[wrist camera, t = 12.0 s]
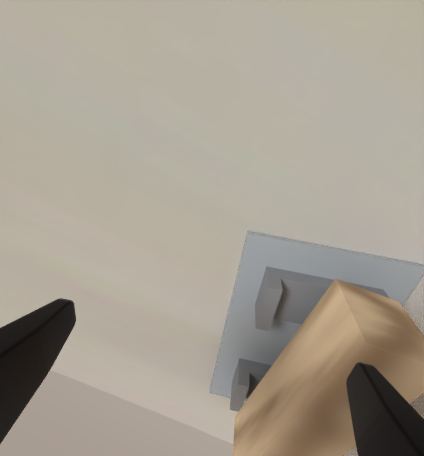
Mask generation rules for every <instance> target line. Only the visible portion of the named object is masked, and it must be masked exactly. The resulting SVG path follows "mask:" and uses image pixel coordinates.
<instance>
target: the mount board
mask: <svg viewBox="0 0 424 456" xmlns="http://www.w3.org/2000/svg"><path fill="white" fill-rule="evenodd" d="M423 274H424V265H422V264H417V263H411V262H406V261H401V260H396V259H390V258H385V257H380V256H375V255H370V254H364V253H359V252H354V251H349V250H343V249H338V248H333V247H328V246H323V245H317V244H312V243H307V242H302V241H296V240H291V239H286V238H281V237H276V236H270V235H265V234H260V233H255V232H249V231H248V232H247V236H246V240H245V244H244V249H243V253H242V257H241V261H240V266H239V270H238V274H237V278H236V282H235V287H234V291H233V295H232V299H231V303H230V308H229V312H228V316H227V320H226V325H225V329H224V333H223V337H222V341H221V346H220V350H219V354H218V358H217V362H216V367H215V371H214V375H213V379H212V384H211V388H210V393H211V394H216V395H220V396H224V397H229V398H231V403H230V410H234V411H239V410H240V409H241V407H242V406H243V403H244V401H247V399H248V398H249V396H250V395H251V394H252V392H253V391H254V390H255V388H256V387H257V385H258V384H259V383H260V381H261V380H262V379H263V377H264V376H265V374H266V373H267V372H268V370H269V369H270V368H271V366H272V365H273V363H274V362H275V361H276V359H277V358H278V357H279V355H280V354H281V353H282V351H283V350H284V348H285V347H286V346H287V344H288V343H289V342H290V340H291V339H292V337H293V336H294V335H295V333H296V332H297V331H298V329H299V328H300V326H301V325H302V324H303V322H304V321H305V320H306V318H307V317H308V316H309V314H310V313H311V311H312V310H313V309H314V307H315V306H316V305H317V303H318V302H319V300H320V299H321V298H322V296H323V295H324V294H325V292H326V291H327V289H328V288H329V287H330V285H331V284H332V283H333V281H334V280H335V278H336V279H339V280H341V281H344V282H347V283H349V284H352V285H355V286H357V287H360V288H363V289H366V290H368V291H371V292H374V293H376V294H379V295H382V296H385V297H387V298H390V299H393V300H395V301H398V302H399V303H400V304H401V306H402V307H403V305H404V304H405V302H406V301H407V299H408V297H409V296H410V294H411V293H412V291H413V290H414V288H415V287H416V285H417V284H418V282H419V280H420V279H421V277H422V276H423Z"/></svg>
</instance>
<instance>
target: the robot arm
mask: <svg viewBox="0 0 424 456" xmlns="http://www.w3.org/2000/svg"><path fill="white" fill-rule="evenodd" d="M75 322H76V315H75V308H74V303H73V301H71V300H67V299H62V298H61V299H57V300H55V301H53V302H51V303H49V304H47V305H45V306H43V307H41V308H39V309H37V310H35V311H33V312H31V313H29V314H27V315H25V316H23V317H21V318H19V319H17V320H15V321H13V322H11V323H9V324H7V325H5V326H3V327H1V328H0V444H1V442H2V441H3V439H4V438H5V436H6V435H7V433H8V432H9V430H10V429H11V427H12V426H13V424H14V423H15V421H16V420H17V419H18V417H19V416H20V414H21V413H22V411H23V410H24V408H25V407H26V405H27V404H28V402H29V401H30V399H31V398H32V396H33V395H34V393H35V392H36V390H37V389H38V388H39V386H40V385H41V383H42V382H43V380H44V379H45V377H46V376H47V374H48V372H49V371H50V369H51V367H52V366H53V364H54V362H55V360H56V358H57V356H58V355H59V353H60V351H61V349H62V347H63V345H64V344H65V342H66V340H67V338H68V336H69V335H70V333H71V331H72V329H73V327H74V325H75ZM346 387H347V394H348V400H349V406H350V413H351V419H352V425H353V432H354V437H355V443H356V447H357V452H358V456H424V419H423V418H422V417H421V416H420V415H419V414H418V412H417V411H416V410H415V409H414V408H413V407H412V406H411V405H410V404H409V403H408V402H407V401H406V400H405V399H404V397H403V396H402V395H401V394H400V393H399V392H398V391H397V390H396V389H395V388H394V387H393V386H392V385H391V384H390V383H389V381H388V380H387V379H386V378H385V377H384V376H383V375H382V374H381V373H380V372H379V371H378V370H377V369H376V368H375V367H374V366H373V365H371V364H367V363H363V362H358V363H356V364H355V366H354V368H353V369H352V371H351V372H350V374H349V376H348V377H347V381H346Z"/></svg>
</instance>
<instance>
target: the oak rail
mask: <svg viewBox="0 0 424 456" xmlns="http://www.w3.org/2000/svg"><path fill="white" fill-rule="evenodd" d="M358 362H363V363H367V364H371V365H373V366H374V367H375V368H376V369H377V370H378V371H379V372H380V373H381V374H382V375H383V376H384V377H385V378H386V379H387V380H388V381H389V383H390V384H391V385H392V386H393V387H394V388H395V389H396V390H397V391H398V392H399V393H400V394H401V395H402V396H403V397H404V399H405V400H406V401H407V402H408V403H409V404H410V403H412V402H413V401H414V400H416V399H417V398H418V397H419V396H421V395H422V394H423V393H424V336H423V334H422V333H421V332H420V330H419V329H418V328H417V326H416V325H415V324H414V322H413V321H412V319H411V318H410V317H409V315H408V314H407V313H406V311H405V310H404V308H403V307H402V306H401V304H400V303H399V302H398V301H395V300H393V299H390V298H387V297H385V296H382V295H379V294H376V293H374V292H371V291H368V290H366V289H363V288H360V287H357V286H355V285H352V284H349V283H347V282H344V281H341V280H339V279H336V278H335V280H334V281H333V283H332V284H331V285H330V287H329V288H328V289H327V291H326V292H325V294H324V295H323V296H322V298H321V299H320V300H319V302H318V303H317V305H316V306H315V307H314V309H313V310H312V311H311V313H310V314H309V316H308V317H307V318H306V320H305V321H304V322H303V324H302V325H301V326H300V328H299V329H298V331H297V332H296V333H295V335H294V336H293V337H292V339H291V340H290V342H289V343H288V344H287V346H286V347H285V348H284V350H283V351H282V353H281V354H280V355H279V357H278V358H277V359H276V361H275V362H274V363H273V365H272V366H271V368H270V369H269V370H268V372H267V373H266V374H265V376H264V377H263V379H262V380H261V381H260V383H259V384H258V385H257V387H256V388H255V390H254V391H253V392H252V394H251V395H250V396H249V398H248V399H247V401H246V402H245V403H244V405H243V406H242V407H241V409H240V410H239V411H238V413H237V414H236V416H235V428H234V448H233V449H234V450H233V456H343V455H345V454H346V453H347V452H349V451H350V450H351V449H352V448H354V447H355V446H356V443H355V437H354V432H353V425H352V419H351V413H350V406H349V400H348V394H347V387H346V381H347V377H348V376H349V374H350V372H351V371H352V369H353V368H354V366H355V364H356V363H358Z"/></svg>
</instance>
